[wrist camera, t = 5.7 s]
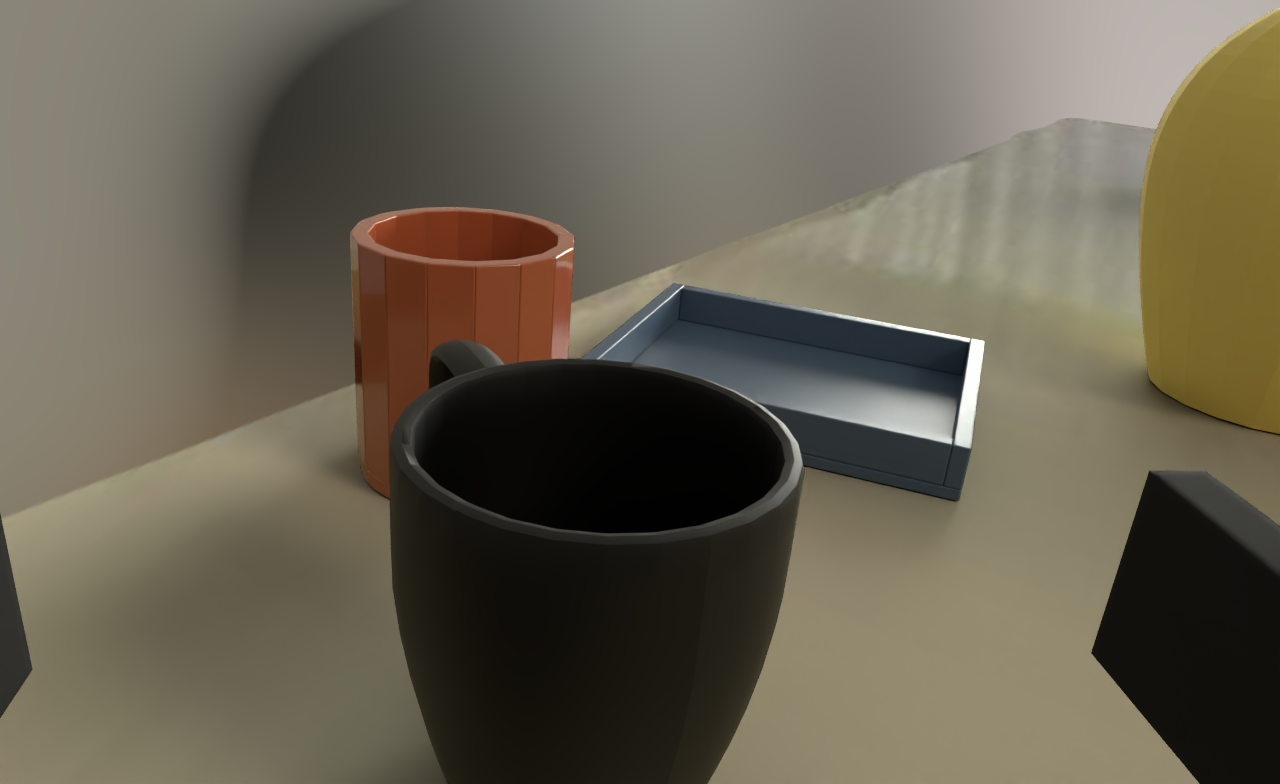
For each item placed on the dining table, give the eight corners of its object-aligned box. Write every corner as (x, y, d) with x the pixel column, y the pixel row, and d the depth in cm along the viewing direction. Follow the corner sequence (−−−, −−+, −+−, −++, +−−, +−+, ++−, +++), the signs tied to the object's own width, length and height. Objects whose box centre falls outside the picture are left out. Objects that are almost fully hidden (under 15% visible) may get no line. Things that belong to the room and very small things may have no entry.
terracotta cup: (317, 481, 36) (304, 239, 32) (428, 405, 42) (427, 197, 39) (506, 533, 34) (514, 280, 30) (591, 444, 40) (606, 228, 37)
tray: (571, 411, 43) (574, 362, 42) (669, 322, 55) (673, 282, 54) (958, 502, 38) (971, 449, 37) (975, 383, 50) (985, 340, 49)
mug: (580, 576, 32) (600, 293, 28) (817, 858, 22) (894, 490, 19) (319, 641, 28) (299, 321, 24) (472, 1016, 18) (482, 590, 15)
